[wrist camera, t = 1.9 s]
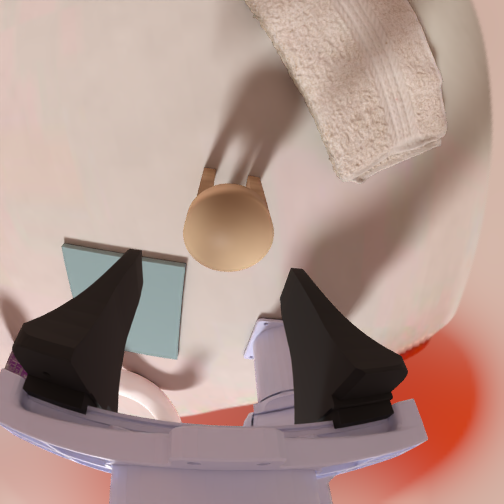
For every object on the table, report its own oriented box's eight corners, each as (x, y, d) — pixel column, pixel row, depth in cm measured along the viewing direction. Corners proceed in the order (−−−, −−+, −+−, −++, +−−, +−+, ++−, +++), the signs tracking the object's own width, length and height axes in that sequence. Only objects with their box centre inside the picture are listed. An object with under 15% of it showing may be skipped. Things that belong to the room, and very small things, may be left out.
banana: (109, 343, 32) (87, 441, 21) (194, 398, 43) (193, 475, 31) (91, 351, 34) (69, 439, 22) (174, 403, 44) (170, 475, 32)
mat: (185, 263, 25) (185, 267, 25) (177, 355, 34) (177, 359, 34) (64, 243, 23) (61, 246, 22) (88, 338, 32) (87, 342, 31)
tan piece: (268, 165, 21) (284, 204, 15) (252, 222, 23) (260, 276, 18) (201, 152, 20) (189, 187, 14) (191, 212, 22) (179, 264, 17)
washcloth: (336, 183, 22) (349, 198, 20) (230, -6, 13) (230, -19, 10) (438, 135, 20) (459, 144, 17) (362, -41, 10) (379, -52, 7)
